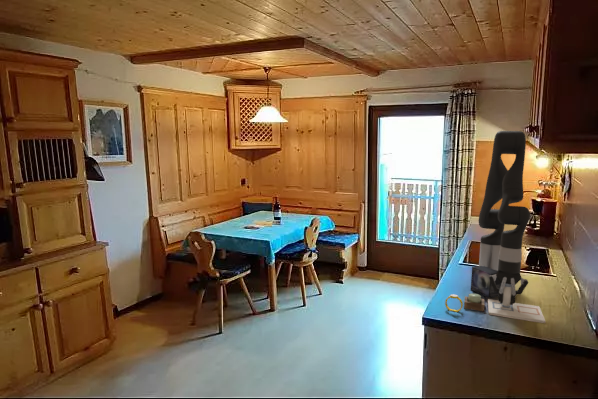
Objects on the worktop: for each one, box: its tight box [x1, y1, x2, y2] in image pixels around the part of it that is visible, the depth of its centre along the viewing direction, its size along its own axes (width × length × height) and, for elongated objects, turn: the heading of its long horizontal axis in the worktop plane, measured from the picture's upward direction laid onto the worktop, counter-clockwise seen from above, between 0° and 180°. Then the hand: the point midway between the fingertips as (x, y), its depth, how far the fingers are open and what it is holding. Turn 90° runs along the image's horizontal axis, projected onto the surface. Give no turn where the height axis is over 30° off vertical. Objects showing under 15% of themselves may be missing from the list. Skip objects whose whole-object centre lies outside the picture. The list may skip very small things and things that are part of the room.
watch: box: [444, 293, 464, 313], centre depth 155 cm, size 6×3×6 cm, turn 60°
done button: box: [467, 293, 482, 303], centre depth 160 cm, size 4×4×3 cm
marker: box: [502, 284, 512, 308], centre depth 159 cm, size 3×3×9 cm
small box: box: [470, 265, 501, 299], centre depth 177 cm, size 11×6×10 cm, turn 21°
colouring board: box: [487, 298, 547, 324], centre depth 157 cm, size 16×18×1 cm
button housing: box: [463, 295, 486, 312], centre depth 160 cm, size 7×7×2 cm
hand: (506, 303), depth 159 cm, fingers closed on marker, 3 cm apart
